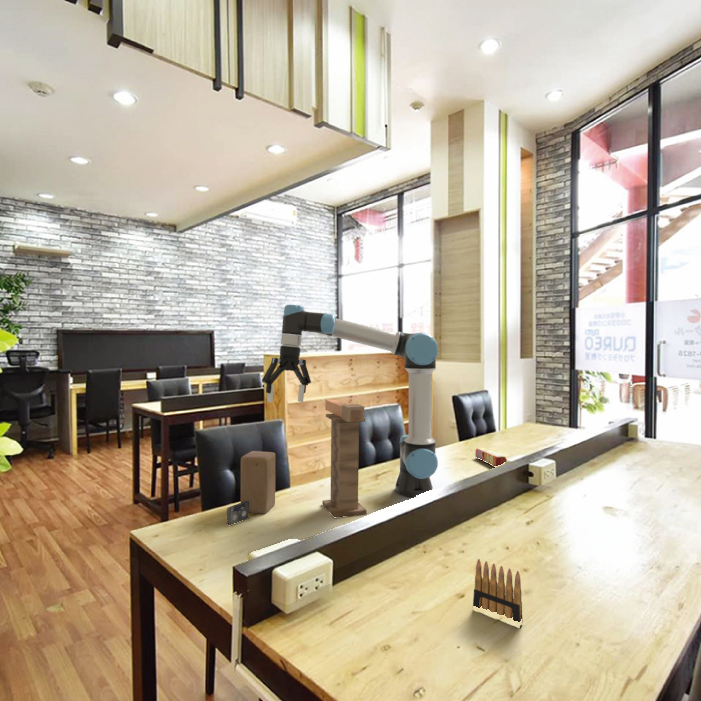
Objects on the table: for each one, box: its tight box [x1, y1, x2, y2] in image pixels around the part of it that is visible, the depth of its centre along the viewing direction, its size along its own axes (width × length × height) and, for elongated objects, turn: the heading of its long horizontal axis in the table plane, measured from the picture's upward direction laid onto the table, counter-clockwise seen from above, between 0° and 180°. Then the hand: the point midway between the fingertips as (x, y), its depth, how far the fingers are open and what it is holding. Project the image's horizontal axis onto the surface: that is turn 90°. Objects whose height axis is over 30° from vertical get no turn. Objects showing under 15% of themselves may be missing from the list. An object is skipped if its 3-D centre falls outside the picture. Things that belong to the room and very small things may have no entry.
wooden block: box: [240, 450, 276, 515], centre depth 166 cm, size 10×10×20 cm
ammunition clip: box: [472, 558, 523, 622], centre depth 102 cm, size 11×2×12 cm, turn 52°
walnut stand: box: [321, 413, 368, 518], centre depth 166 cm, size 14×12×34 cm
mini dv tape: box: [226, 501, 250, 526], centre depth 154 cm, size 8×2×6 cm, turn 145°
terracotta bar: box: [324, 399, 365, 422], centre depth 169 cm, size 28×6×5 cm, turn 21°
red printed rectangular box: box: [475, 447, 508, 466], centre depth 231 cm, size 21×7×7 cm, turn 13°
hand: (285, 401), depth 173 cm, fingers open, 13 cm apart
